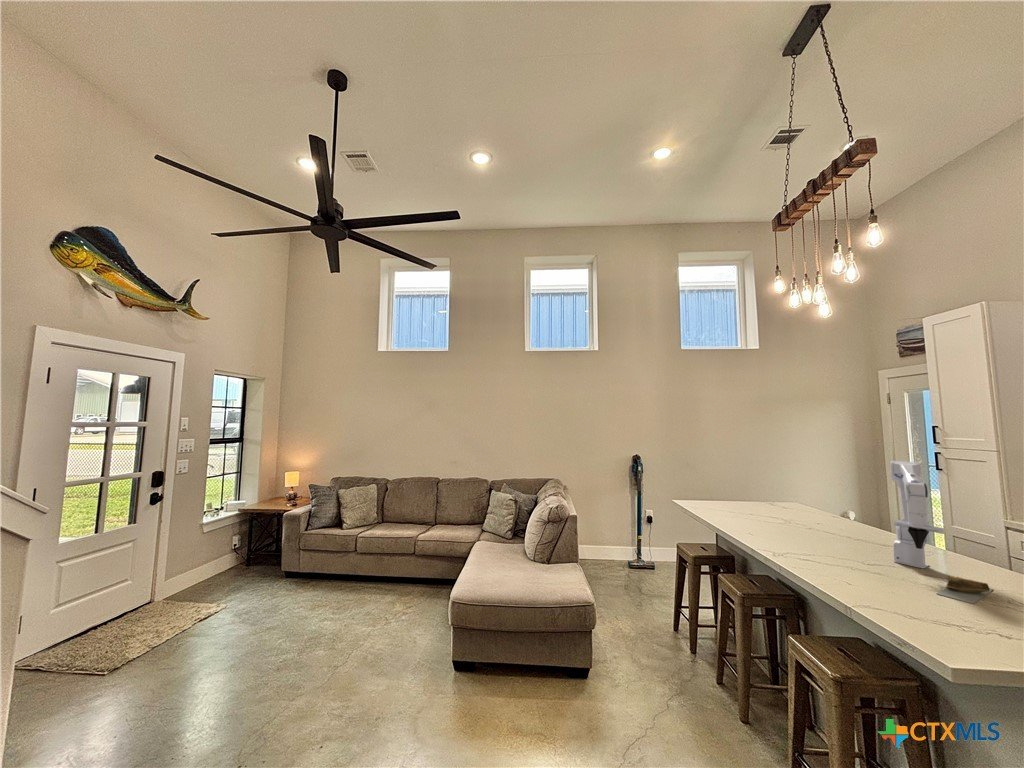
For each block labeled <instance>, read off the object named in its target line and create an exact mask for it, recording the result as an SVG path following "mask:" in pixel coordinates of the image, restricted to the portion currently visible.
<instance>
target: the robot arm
mask: <svg viewBox="0 0 1024 768" xmlns="http://www.w3.org/2000/svg"><path fill="white" fill-rule="evenodd" d="M889 471H890V478H891V481H893V482H895V483H896V484H897V487H898V488H899V495H900V503H901V504H900V505H901V511H902V518H901V519H899V520H897V519H896V520H893V526H895V535H896V540H894V542H893V562H894V563H897V564H903V565H906V566H909V567H910V566H911V567H914V568H918V569H925V568H927V567H930V564H929V563H926V552H925V551H926V550H925V546H926V545H927V544H929V543H930V533H938V534H940V535H944V534H945V528H943V527H938V526H933V525H929V521H928V520H929V519H928V504H927V503H928V502H927V501H928V500H927V498H928V497H929V487H928V485H927V483H926V482H923V481H922V478H921V476H922V467H921V463H920V462H918V461H916V462H915V461H899V460H891V461H890V462H889Z"/></svg>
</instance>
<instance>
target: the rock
mask: <svg viewBox="0 0 1024 768" xmlns="http://www.w3.org/2000/svg"><path fill="white" fill-rule="evenodd" d="M945 588H952V589H956V590H958V591H963V592H981V593H982V592H987V591H989V589H990V587H989V584H988V583H986V582H982V581H976V580H973V579H967V578H962V577H957V576H953V575H950V576H948V582H947V584H946V587H945Z"/></svg>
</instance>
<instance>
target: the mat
mask: <svg viewBox="0 0 1024 768" xmlns="http://www.w3.org/2000/svg"><path fill="white" fill-rule="evenodd" d="M989 588H990V587H989ZM993 591H994V589H993V588H992V587H991V588H990V589H989V591H987V592H982V593H981V592H963V591H958V590H956V589H952V588H946V587H945V588H943V589H942V590H940V591H938V592H936V595H938V596H942V597H946V598H950V599H952V600H953V599H954V600H956V601H960V602H964V603H966V604H967V603H968V604H970V605H971V604H972V605H974V604H976V603H978V602H979V601H980V600H982V599H983V598H985V597H986V596H988V595H989V594H990V593H992V592H993Z"/></svg>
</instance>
